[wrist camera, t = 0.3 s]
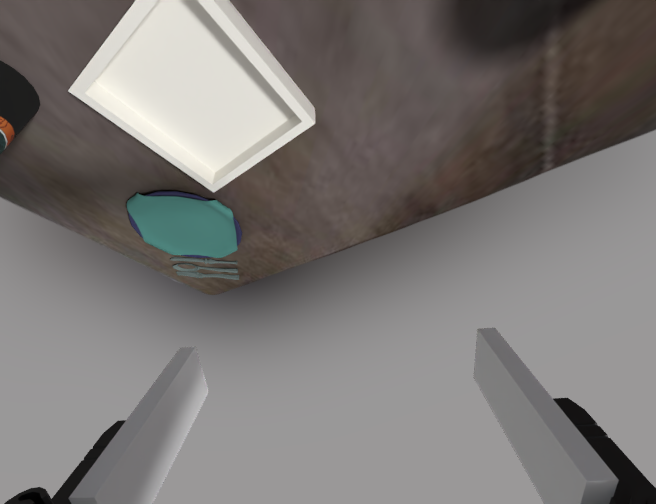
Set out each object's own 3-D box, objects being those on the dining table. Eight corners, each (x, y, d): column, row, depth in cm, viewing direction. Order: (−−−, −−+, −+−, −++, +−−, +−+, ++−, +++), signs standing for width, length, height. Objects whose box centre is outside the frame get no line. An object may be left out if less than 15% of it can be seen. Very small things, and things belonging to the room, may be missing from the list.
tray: (80, 75, 37) (67, 91, 36) (181, -60, 28) (172, -49, 26) (217, 177, 51) (213, 192, 49) (314, 108, 42) (315, 123, 40)
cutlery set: (239, 189, 54) (237, 199, 53) (247, 275, 78) (246, 283, 77) (113, 178, 51) (108, 188, 50) (163, 271, 75) (160, 279, 74)
